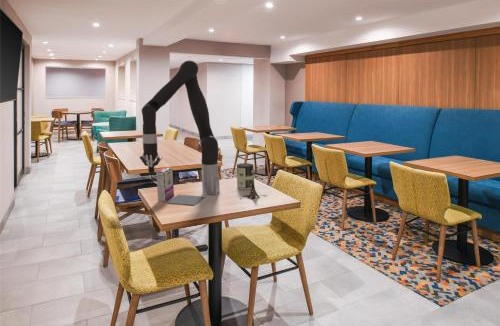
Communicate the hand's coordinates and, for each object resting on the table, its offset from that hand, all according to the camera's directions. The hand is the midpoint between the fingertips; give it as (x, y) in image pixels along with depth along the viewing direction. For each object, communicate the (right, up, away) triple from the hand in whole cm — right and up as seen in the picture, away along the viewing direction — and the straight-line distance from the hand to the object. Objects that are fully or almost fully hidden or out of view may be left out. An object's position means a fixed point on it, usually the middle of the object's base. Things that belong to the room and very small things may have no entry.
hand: (151, 173), depth 205 cm
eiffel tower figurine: (+56, -14, +2) cm, 58 cm away
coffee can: (+51, -9, +24) cm, 57 cm away
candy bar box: (+8, -14, 0) cm, 16 cm away
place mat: (+19, -14, -3) cm, 24 cm away
